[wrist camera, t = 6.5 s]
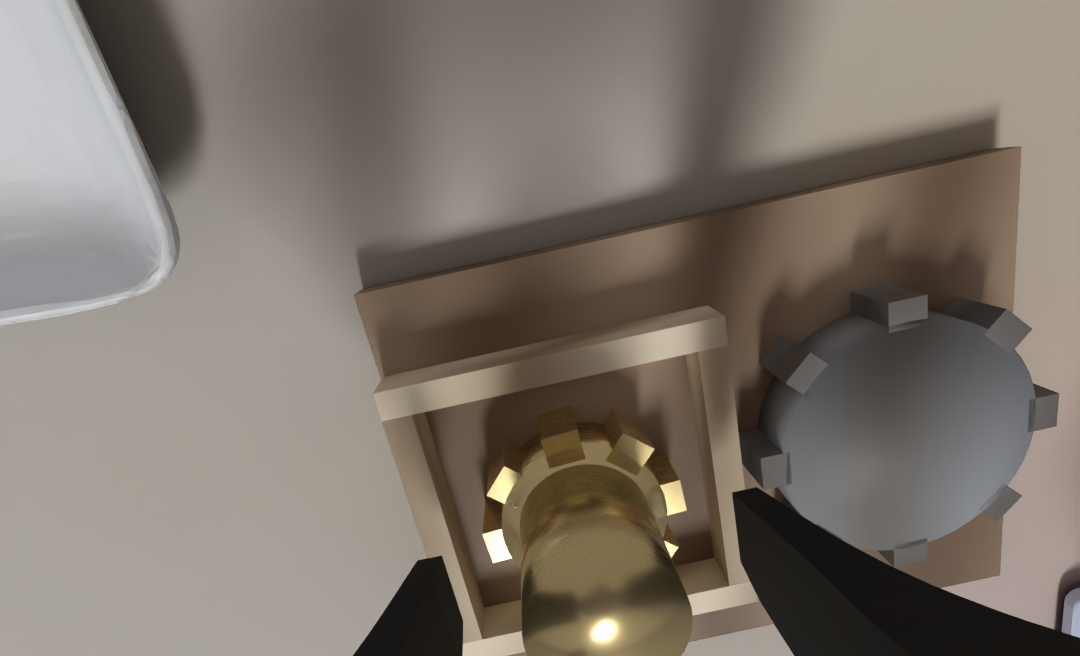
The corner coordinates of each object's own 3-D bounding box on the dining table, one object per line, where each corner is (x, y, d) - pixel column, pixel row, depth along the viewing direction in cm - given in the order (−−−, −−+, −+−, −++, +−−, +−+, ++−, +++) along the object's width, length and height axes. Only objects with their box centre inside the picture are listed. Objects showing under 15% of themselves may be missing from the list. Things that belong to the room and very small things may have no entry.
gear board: (993, 148, 14) (1083, 141, 12) (978, 558, 18) (1044, 610, 16) (362, 289, 14) (335, 308, 12) (482, 665, 18) (478, 732, 16)
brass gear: (647, 383, 15) (714, 481, 10) (685, 540, 16) (758, 692, 11) (461, 436, 15) (436, 557, 10) (516, 586, 16) (516, 754, 11)
